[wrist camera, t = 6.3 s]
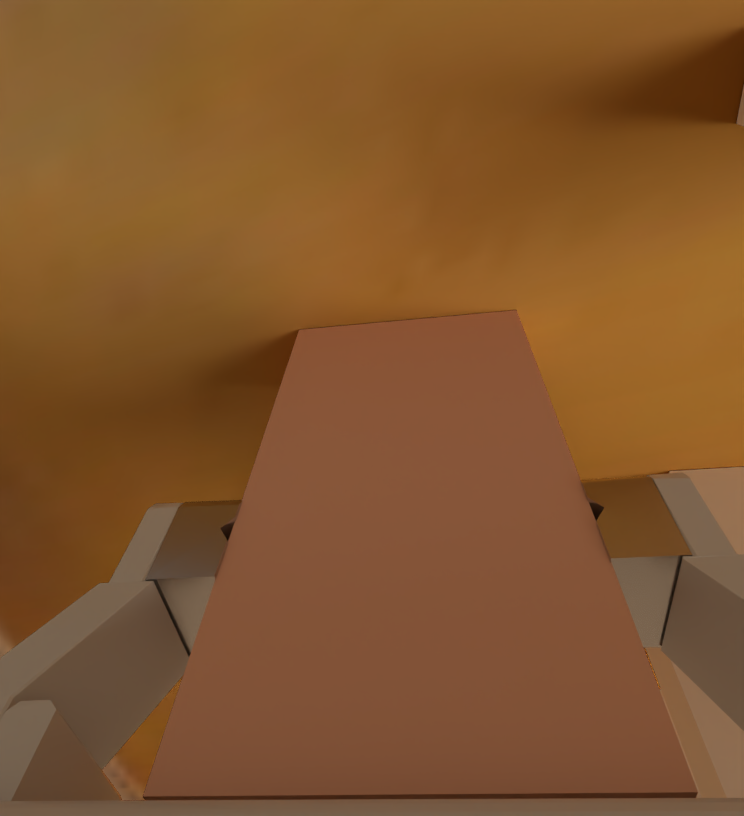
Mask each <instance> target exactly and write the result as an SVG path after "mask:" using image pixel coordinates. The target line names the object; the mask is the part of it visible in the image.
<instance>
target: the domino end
mask: <svg viewBox="0 0 744 816" xmlns="http://www.w3.org/2000/svg"><path fill="white" fill-rule="evenodd" d="M736 124H738V125H741V126H744V86H743V91H742V96H741V102H740V107H739V112H738V117H737V122H736Z"/></svg>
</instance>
